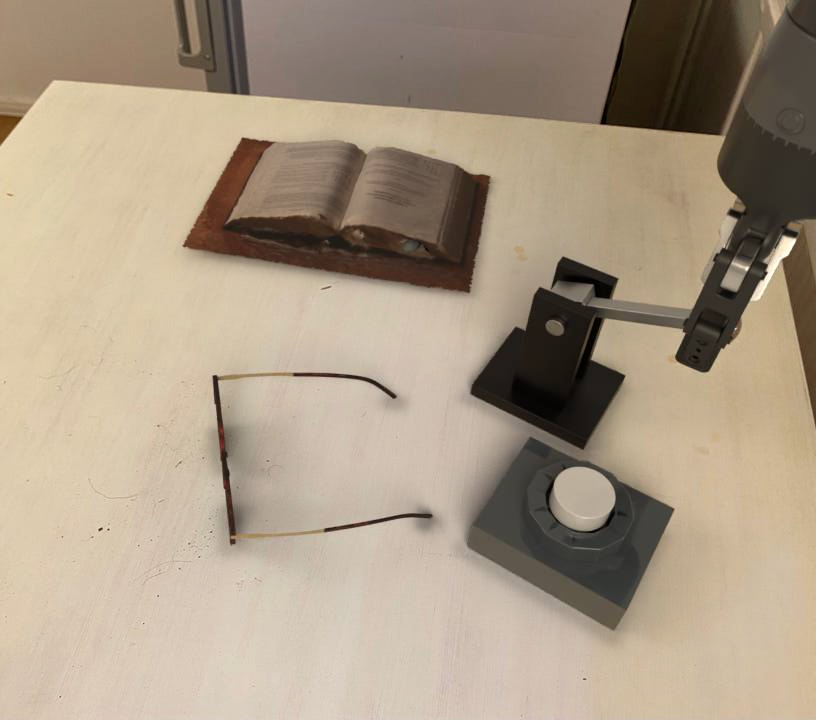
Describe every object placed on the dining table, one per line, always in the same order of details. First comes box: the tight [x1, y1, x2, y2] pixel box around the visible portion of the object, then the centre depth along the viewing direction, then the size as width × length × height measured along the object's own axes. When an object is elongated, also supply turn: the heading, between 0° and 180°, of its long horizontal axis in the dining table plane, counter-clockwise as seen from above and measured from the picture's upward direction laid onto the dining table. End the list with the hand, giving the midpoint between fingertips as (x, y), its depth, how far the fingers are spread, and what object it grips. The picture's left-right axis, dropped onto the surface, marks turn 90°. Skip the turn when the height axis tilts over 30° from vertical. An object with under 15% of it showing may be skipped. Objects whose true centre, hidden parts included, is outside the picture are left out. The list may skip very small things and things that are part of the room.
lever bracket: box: [470, 255, 627, 451], centre depth 63 cm, size 10×8×12 cm
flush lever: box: [550, 281, 743, 346], centre depth 57 cm, size 13×3×3 cm, turn 55°
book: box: [181, 136, 492, 294], centre depth 82 cm, size 20×28×4 cm
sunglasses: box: [211, 372, 434, 547], centre depth 61 cm, size 14×15×5 cm
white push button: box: [549, 467, 616, 531], centre depth 54 cm, size 4×4×2 cm
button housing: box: [467, 436, 675, 632], centre depth 56 cm, size 11×9×5 cm
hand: (712, 324), depth 54 cm, fingers open, 8 cm apart
